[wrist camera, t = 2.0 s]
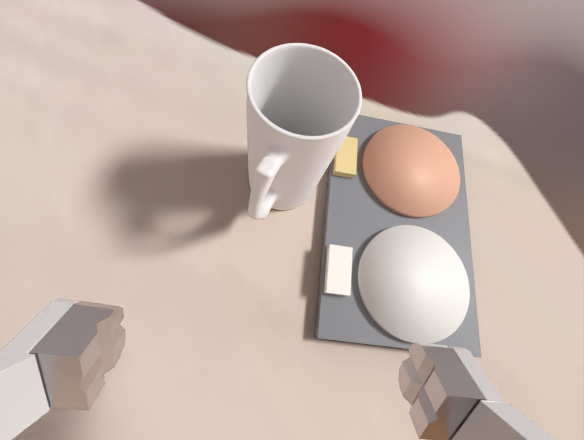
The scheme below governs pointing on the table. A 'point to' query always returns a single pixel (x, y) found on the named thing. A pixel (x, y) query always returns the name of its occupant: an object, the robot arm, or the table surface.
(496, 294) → the table surface
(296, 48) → the mug
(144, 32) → the table surface
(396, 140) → the grey food tray
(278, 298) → the table surface
